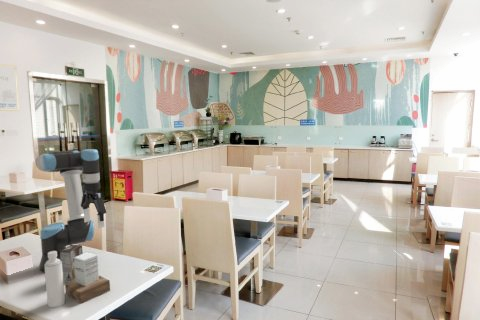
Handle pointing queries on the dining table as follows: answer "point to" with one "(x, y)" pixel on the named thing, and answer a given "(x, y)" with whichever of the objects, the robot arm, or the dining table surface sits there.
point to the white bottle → (54, 280)
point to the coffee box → (69, 261)
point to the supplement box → (86, 269)
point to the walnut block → (87, 289)
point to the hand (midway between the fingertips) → (94, 224)
